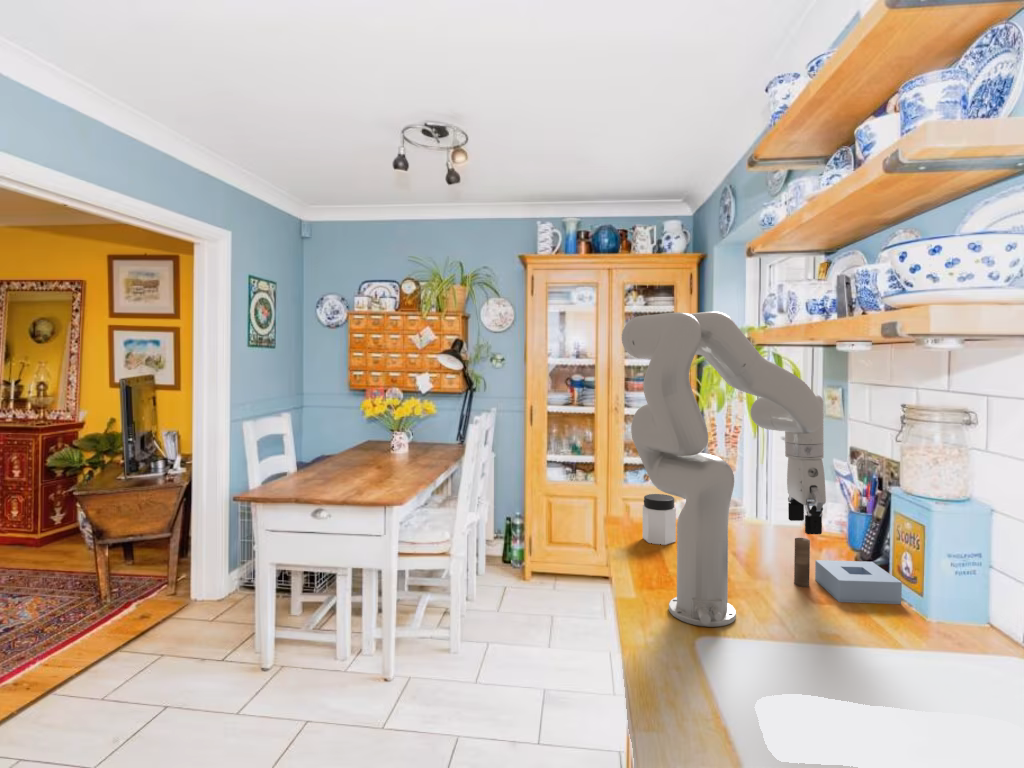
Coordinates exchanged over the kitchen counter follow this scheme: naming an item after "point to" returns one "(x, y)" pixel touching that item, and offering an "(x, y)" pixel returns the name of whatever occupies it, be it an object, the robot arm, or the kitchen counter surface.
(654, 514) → the jar
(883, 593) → the hole block
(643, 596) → the kitchen counter surface
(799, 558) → the peg
